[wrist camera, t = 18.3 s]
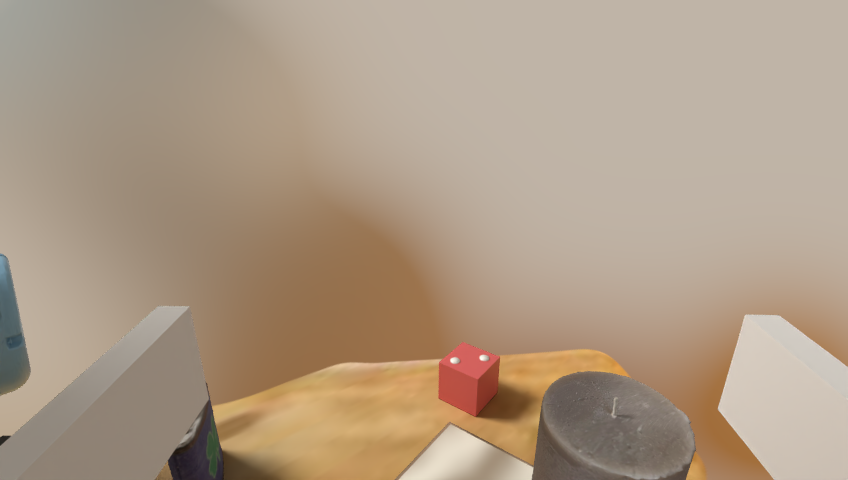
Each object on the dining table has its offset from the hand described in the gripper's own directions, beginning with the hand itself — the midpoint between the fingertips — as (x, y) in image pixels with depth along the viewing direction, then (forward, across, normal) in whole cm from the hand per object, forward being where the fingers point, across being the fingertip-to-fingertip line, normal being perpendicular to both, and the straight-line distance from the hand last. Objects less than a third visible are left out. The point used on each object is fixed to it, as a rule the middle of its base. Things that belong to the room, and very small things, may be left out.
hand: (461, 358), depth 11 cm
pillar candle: (+16, +12, -29) cm, 35 cm away
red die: (+35, +3, -30) cm, 46 cm away
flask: (+22, -22, -30) cm, 43 cm away
